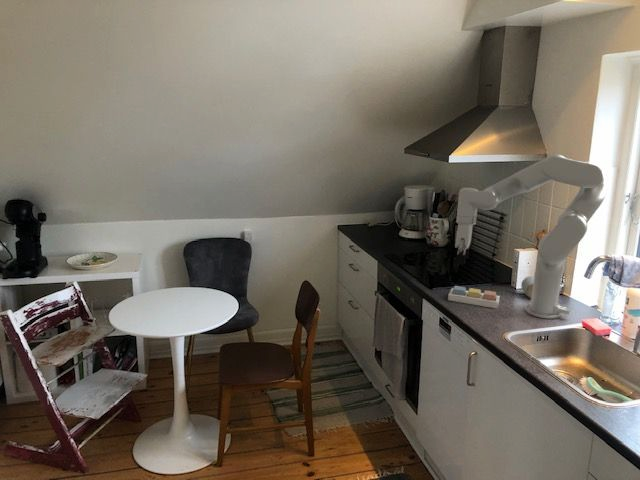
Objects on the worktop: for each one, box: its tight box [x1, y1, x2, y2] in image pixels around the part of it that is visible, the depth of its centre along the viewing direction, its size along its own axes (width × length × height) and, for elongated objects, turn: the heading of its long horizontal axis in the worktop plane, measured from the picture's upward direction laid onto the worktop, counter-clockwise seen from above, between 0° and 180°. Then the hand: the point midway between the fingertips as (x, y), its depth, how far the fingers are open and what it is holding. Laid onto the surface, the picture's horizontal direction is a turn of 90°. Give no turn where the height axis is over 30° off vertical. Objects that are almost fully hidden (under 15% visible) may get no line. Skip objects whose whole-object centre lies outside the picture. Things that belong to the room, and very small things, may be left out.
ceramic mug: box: [520, 276, 534, 299], centre depth 213 cm, size 11×8×8 cm
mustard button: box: [467, 287, 482, 298], centre depth 206 cm, size 4×4×3 cm
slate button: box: [452, 285, 467, 296], centre depth 209 cm, size 4×4×3 cm
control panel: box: [447, 287, 501, 309], centre depth 207 cm, size 19×8×2 cm, turn 67°
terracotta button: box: [483, 290, 497, 301], centre depth 204 cm, size 4×4×3 cm
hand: (462, 260), depth 205 cm, fingers open, 8 cm apart
